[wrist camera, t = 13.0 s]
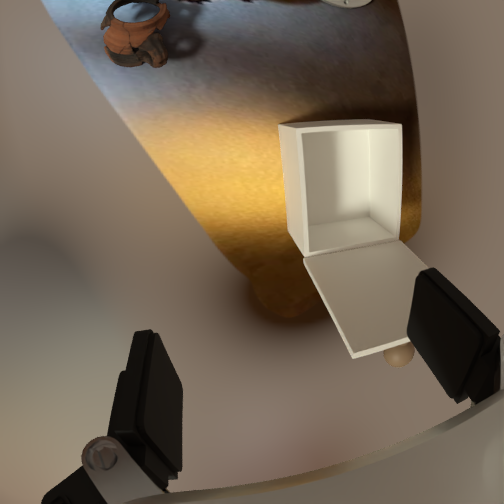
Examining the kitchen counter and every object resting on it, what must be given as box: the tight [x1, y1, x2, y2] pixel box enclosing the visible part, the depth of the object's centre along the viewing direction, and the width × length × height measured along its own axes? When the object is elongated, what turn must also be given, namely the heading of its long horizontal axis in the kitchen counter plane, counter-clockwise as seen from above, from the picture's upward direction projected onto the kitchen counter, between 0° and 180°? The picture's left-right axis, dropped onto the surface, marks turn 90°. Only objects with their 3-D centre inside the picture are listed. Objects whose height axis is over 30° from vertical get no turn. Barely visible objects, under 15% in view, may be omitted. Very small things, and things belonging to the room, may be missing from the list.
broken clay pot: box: [101, 0, 170, 68], centre depth 30 cm, size 12×10×8 cm
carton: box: [278, 119, 402, 257], centre depth 40 cm, size 16×14×9 cm
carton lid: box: [303, 241, 429, 367], centre depth 35 cm, size 16×14×7 cm
